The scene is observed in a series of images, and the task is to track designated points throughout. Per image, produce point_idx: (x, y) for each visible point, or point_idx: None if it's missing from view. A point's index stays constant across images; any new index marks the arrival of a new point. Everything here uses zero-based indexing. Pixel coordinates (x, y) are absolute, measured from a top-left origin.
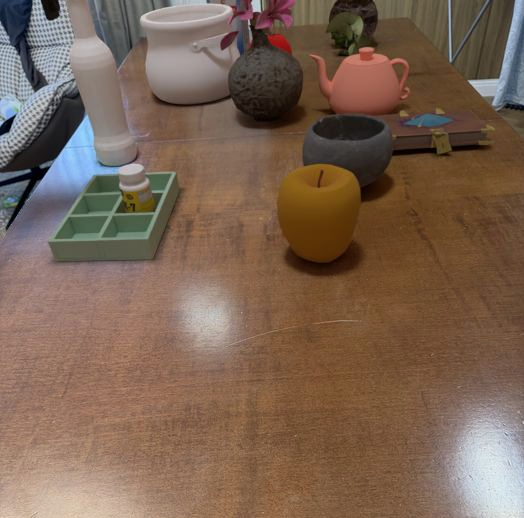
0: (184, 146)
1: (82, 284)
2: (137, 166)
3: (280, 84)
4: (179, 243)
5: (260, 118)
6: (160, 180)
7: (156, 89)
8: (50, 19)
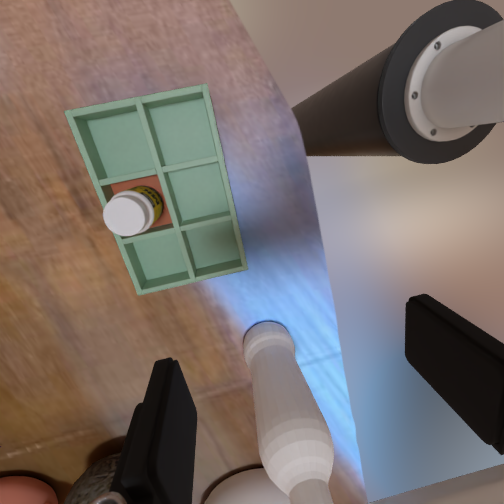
0: (199, 381)
1: (139, 40)
2: (117, 227)
3: (73, 500)
4: (68, 160)
5: None
6: (160, 281)
7: None
8: (160, 360)
